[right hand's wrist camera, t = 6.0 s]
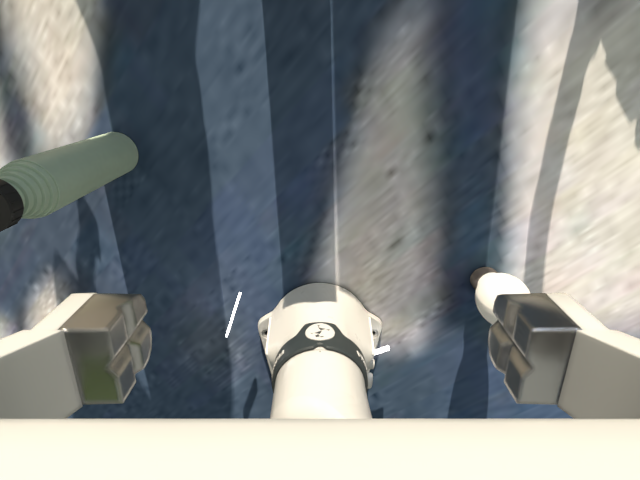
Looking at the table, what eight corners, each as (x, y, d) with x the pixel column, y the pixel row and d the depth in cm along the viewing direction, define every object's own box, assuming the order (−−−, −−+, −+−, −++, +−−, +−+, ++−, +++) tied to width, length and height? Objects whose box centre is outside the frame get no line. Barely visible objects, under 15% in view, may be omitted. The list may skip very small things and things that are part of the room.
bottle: (140, 137, 56) (20, 181, 34) (137, 177, 58) (22, 244, 35) (97, 127, 55) (-53, 166, 33) (95, 168, 57) (-47, 230, 35)
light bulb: (457, 295, 64) (483, 338, 54) (467, 254, 62) (496, 291, 51) (502, 299, 64) (536, 343, 54) (513, 258, 62) (552, 295, 52)
